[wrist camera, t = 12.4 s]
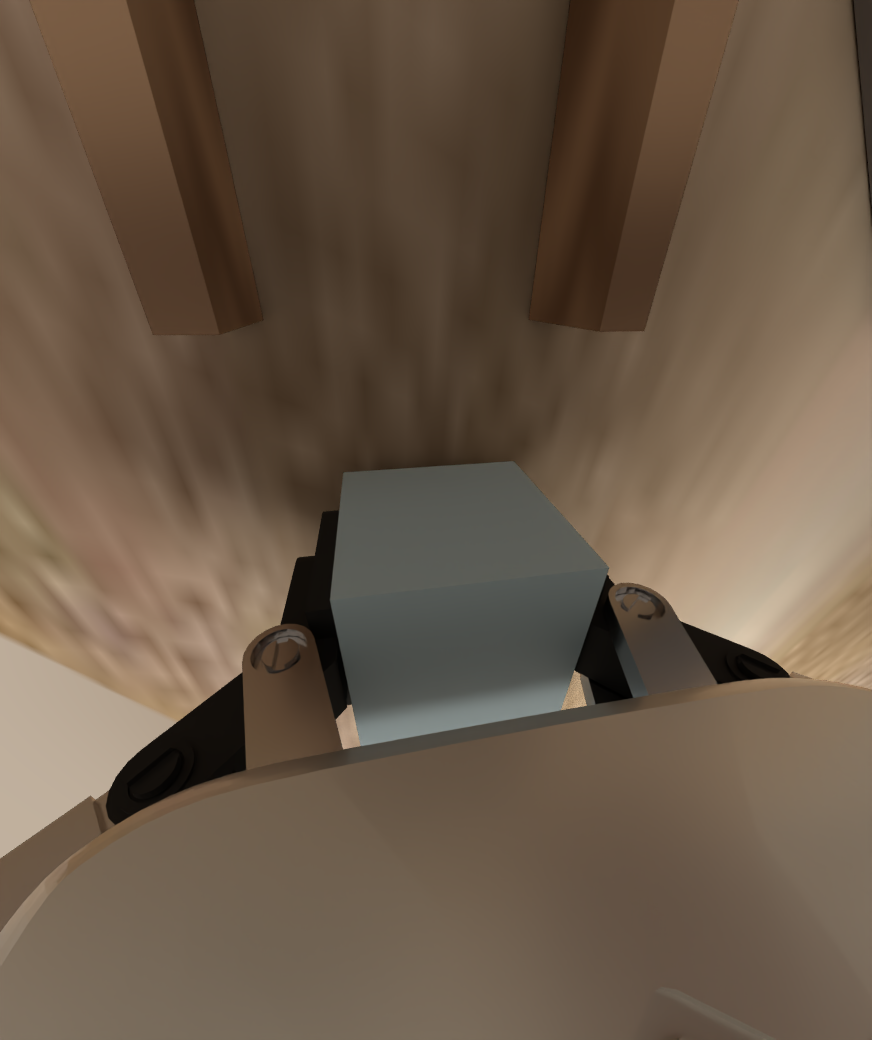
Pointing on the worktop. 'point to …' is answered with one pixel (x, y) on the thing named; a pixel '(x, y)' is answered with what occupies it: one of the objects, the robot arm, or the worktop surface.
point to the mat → (865, 70)
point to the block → (457, 598)
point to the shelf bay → (570, 183)
